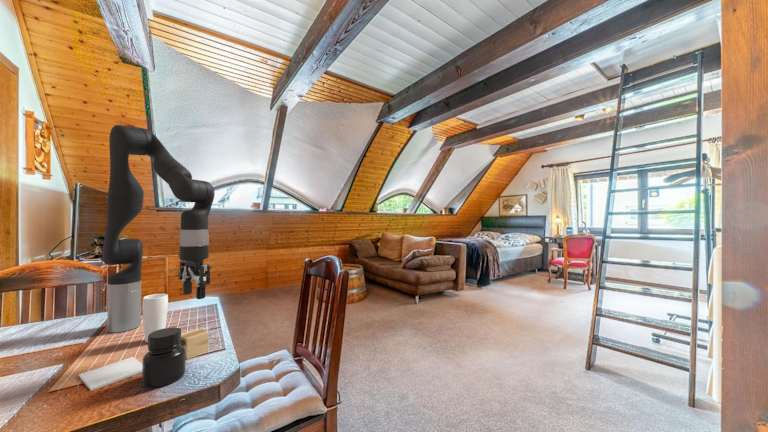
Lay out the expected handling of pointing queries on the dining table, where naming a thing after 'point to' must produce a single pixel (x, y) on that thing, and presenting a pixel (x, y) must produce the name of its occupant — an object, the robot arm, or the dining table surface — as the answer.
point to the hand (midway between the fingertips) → (194, 296)
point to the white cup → (154, 313)
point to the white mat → (111, 373)
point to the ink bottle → (163, 358)
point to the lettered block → (195, 342)
